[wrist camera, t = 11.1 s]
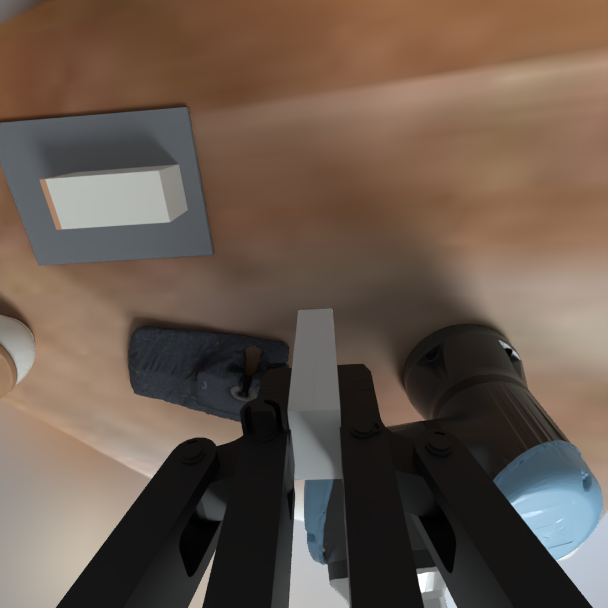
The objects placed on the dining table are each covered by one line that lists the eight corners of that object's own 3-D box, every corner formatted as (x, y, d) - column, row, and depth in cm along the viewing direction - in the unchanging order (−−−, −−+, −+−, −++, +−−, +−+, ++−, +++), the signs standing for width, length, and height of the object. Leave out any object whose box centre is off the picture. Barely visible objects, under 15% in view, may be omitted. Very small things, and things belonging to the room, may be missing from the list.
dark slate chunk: (137, 302, 52) (121, 318, 47) (299, 342, 53) (297, 361, 49) (129, 392, 58) (114, 414, 54) (273, 426, 60) (270, 449, 55)
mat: (214, 253, 48) (212, 254, 47) (42, 263, 49) (38, 265, 49) (188, 107, 41) (186, 107, 41) (-11, 123, 42) (-15, 123, 42)
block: (87, 216, 46) (187, 210, 45) (56, 229, 40) (169, 222, 40) (73, 172, 44) (178, 164, 43) (39, 179, 38) (158, 170, 38)
